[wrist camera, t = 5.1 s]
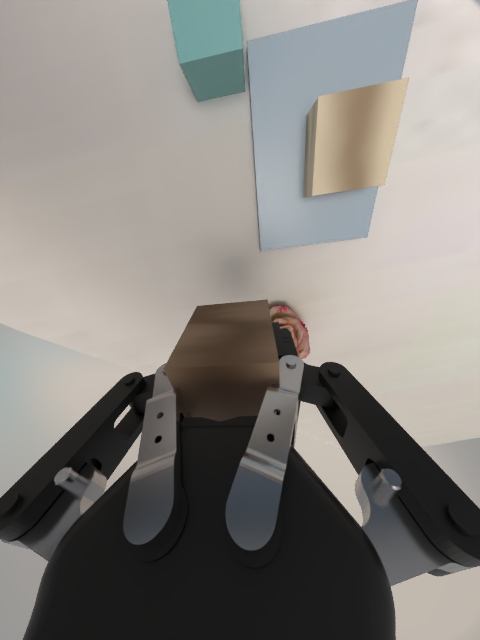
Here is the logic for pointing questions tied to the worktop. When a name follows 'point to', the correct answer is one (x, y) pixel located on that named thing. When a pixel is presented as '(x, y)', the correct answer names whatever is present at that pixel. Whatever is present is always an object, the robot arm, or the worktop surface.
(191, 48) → the block teal
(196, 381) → the block walnut
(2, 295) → the worktop surface
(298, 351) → the flower
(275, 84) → the board
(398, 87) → the base block
